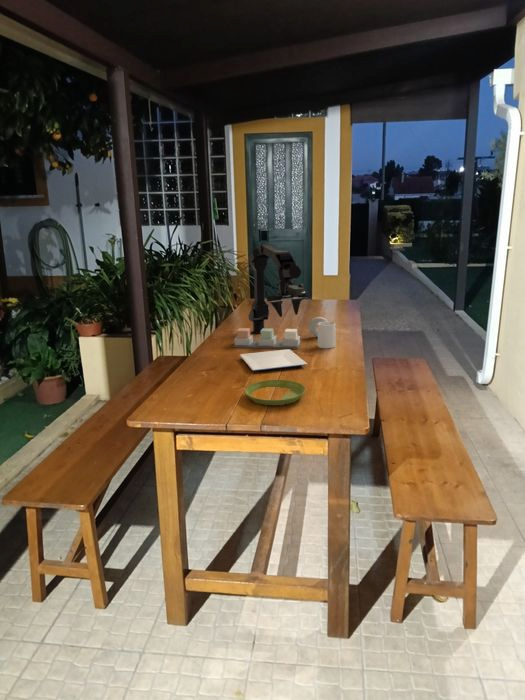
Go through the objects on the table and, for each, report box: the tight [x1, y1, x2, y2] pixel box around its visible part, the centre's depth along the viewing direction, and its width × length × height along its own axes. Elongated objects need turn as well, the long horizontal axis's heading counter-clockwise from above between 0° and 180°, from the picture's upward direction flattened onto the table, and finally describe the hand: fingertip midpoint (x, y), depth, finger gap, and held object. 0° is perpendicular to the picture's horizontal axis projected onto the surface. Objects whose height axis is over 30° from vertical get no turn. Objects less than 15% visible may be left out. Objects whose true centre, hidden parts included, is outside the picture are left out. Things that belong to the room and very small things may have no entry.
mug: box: [317, 320, 336, 349], centre depth 247 cm, size 12×8×10 cm, turn 164°
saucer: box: [244, 379, 306, 406], centre depth 188 cm, size 21×21×3 cm
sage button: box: [260, 327, 275, 339], centre depth 250 cm, size 5×5×4 cm
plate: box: [239, 349, 308, 372], centre depth 225 cm, size 22×22×2 cm
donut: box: [308, 316, 328, 338], centre depth 260 cm, size 10×4×10 cm, turn 83°
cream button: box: [284, 328, 298, 340], centre depth 247 cm, size 5×5×4 cm
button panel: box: [233, 334, 301, 350], centre depth 251 cm, size 10×29×4 cm, turn 79°
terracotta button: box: [236, 327, 251, 339], centre depth 252 cm, size 5×5×4 cm
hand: (288, 315), depth 243 cm, fingers open, 9 cm apart
